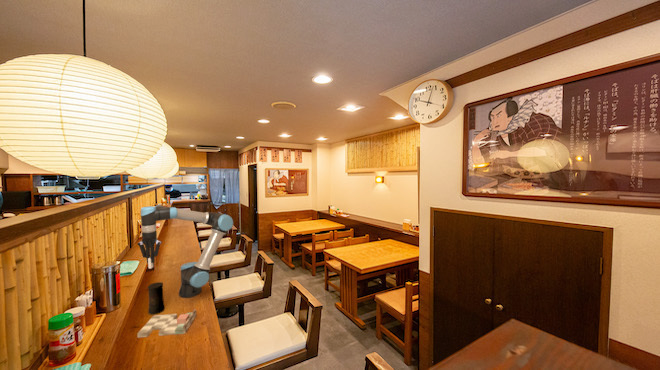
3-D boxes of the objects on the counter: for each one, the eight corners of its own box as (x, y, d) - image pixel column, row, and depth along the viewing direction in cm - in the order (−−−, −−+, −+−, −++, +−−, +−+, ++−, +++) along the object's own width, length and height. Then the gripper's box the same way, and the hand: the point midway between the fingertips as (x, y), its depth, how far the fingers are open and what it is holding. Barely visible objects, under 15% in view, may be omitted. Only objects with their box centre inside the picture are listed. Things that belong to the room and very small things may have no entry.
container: (146, 311, 165) (145, 285, 164) (162, 305, 172) (161, 280, 170) (150, 316, 159) (148, 289, 158) (166, 310, 166) (165, 284, 164)
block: (180, 319, 153) (180, 314, 153) (189, 318, 154) (189, 313, 154) (177, 324, 148) (176, 319, 148) (186, 323, 149) (185, 318, 149)
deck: (153, 319, 157) (153, 312, 156) (196, 315, 161) (195, 309, 160) (137, 337, 140) (137, 330, 140) (185, 333, 144) (185, 326, 144)
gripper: (133, 233, 151) (136, 270, 153) (157, 232, 153) (159, 269, 155) (141, 230, 158) (143, 265, 160) (163, 229, 160) (165, 264, 162)
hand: (151, 267), depth 157 cm, fingers closed
